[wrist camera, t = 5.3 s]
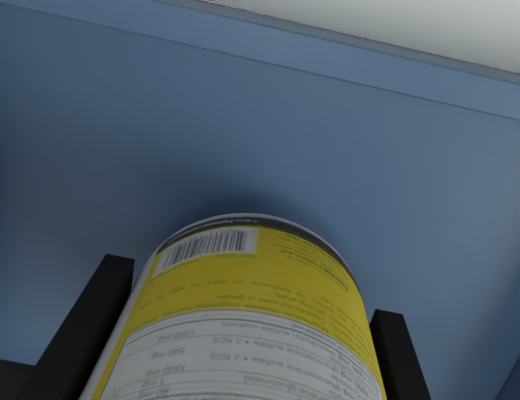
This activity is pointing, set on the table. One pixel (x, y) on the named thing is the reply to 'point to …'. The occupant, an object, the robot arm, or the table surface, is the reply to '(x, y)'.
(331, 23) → the table surface
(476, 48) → the table surface
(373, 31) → the table surface
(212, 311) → the pill bottle
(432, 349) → the tray
